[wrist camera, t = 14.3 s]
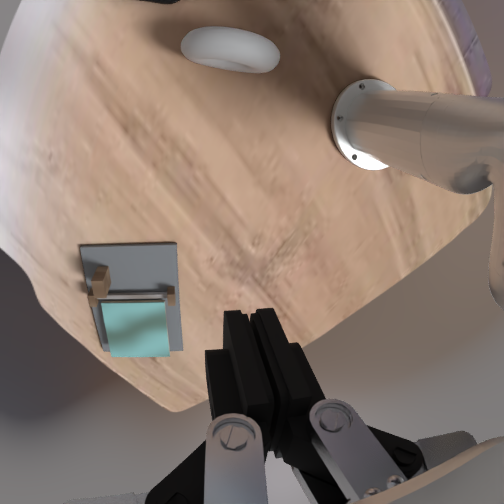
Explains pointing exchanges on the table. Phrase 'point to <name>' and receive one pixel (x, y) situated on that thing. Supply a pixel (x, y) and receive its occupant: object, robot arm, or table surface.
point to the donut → (230, 49)
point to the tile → (136, 328)
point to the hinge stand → (102, 285)
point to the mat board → (136, 279)
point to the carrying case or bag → (163, 1)
